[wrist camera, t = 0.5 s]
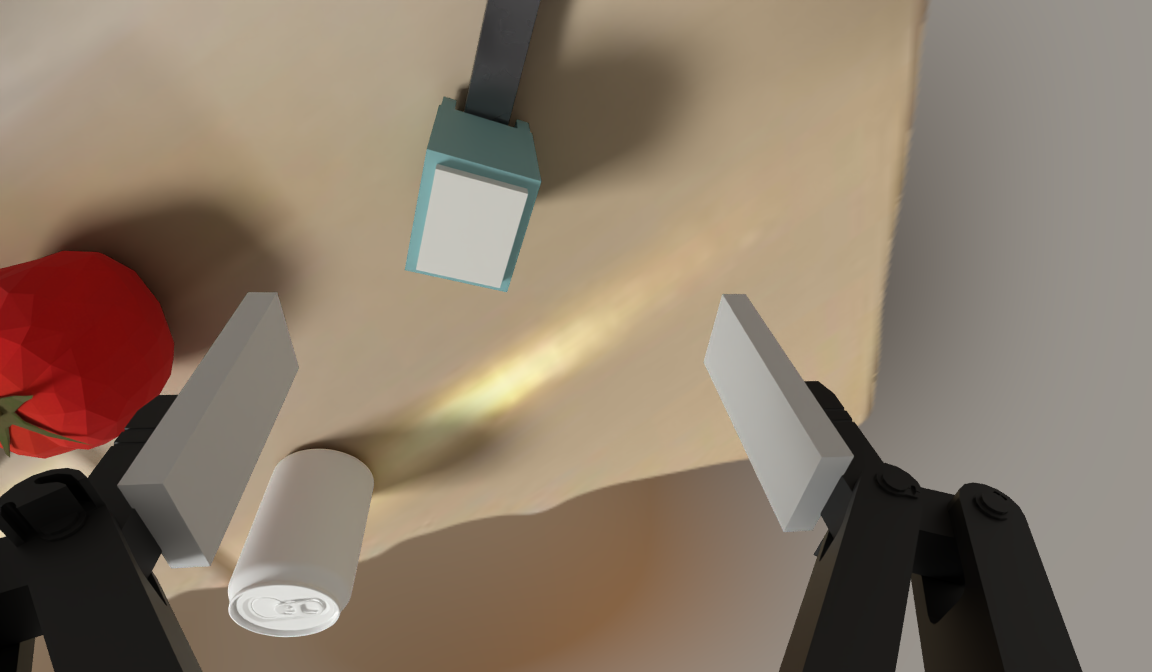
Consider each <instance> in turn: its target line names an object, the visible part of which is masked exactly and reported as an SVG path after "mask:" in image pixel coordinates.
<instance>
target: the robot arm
mask: <svg viewBox="0 0 1152 672" xmlns="http://www.w3.org/2000/svg"><path fill="white" fill-rule="evenodd" d="M704 364H705V366H706V368H707V370H708V372H709V374H710V377H711V379H712V381H713V383H714V385H715V387H716V389H717V391H718V394H719V396H720V398H721V400H722V402H723V404H724V406H725V408H726V411H727V413H728V415H729V417H730V419H731V421H732V423H733V425H734V428H735V430H736V432H737V434H738V436H739V438H740V440H741V442H742V445H743V447H744V449H745V451H746V453H747V455H748V457H749V459H750V462H751V464H752V466H753V468H754V470H755V472H756V474H757V476H758V479H759V481H760V483H761V485H762V487H763V489H764V491H765V493H766V496H767V498H768V500H769V502H770V504H771V506H772V508H773V510H774V512H775V515H776V517H777V519H778V521H779V523H780V525H781V527H782V530H783V532H794V531H810V530H813V529H814V527H815V525H816V523H817V522H818V520H819V518H820V516H822V518H823V520H824V522H825V523H826V525H827V527H828V531H827V533H826V535H825V536H824V538H823V540H822V541H821V543H820V545H819V546H818V548H817V550H816V551H815V553H814V555H815V556H817V559H816V562H815V565H814V568H813V571H812V574H811V577H810V581H809V583H808V586H807V589H806V592H805V595H804V598H803V601H802V604H801V607H800V610H799V613H798V616H797V619H796V622H795V625H794V628H793V631H792V634H791V637H790V640H789V643H788V646H787V649H786V652H785V655H784V658H783V661H782V664H781V667H780V670H779V672H895V669H896V663H897V658H898V652H899V646H900V640H901V634H902V628H903V622H904V615H905V610H906V604H907V598H908V592H909V586H910V580H911V582H912V588H913V595H914V601H915V608H916V615H917V622H918V628H919V635H920V642H921V649H922V655H923V662H924V668H925V672H1082V670H1081V667H1080V664H1079V661H1078V659H1077V656H1076V653H1075V651H1074V648H1073V645H1072V642H1071V640H1070V637H1069V634H1068V632H1067V629H1066V626H1065V623H1064V621H1063V618H1062V615H1061V613H1060V610H1059V607H1058V604H1057V602H1056V599H1055V596H1054V594H1053V591H1052V588H1051V585H1050V583H1049V580H1048V577H1047V575H1046V572H1045V569H1044V566H1043V564H1042V561H1041V558H1040V556H1039V553H1038V550H1037V547H1036V545H1035V542H1034V539H1033V537H1032V534H1031V531H1030V528H1029V526H1028V523H1027V520H1026V518H1025V515H1024V514H1023V512H1022V510H1021V509H1020V507H1019V506H1018V505H1017V504H1016V503H1015V502H1014V501H1013V500H1012V499H1010V497H1008V496H1007V495H1005V494H1004V493H1002V492H1000V491H999V490H997V489H995V488H992V487H990V486H987V485H985V484H979V483H968V484H964V485H963V486H962V487H961V488H960V489H959V490H958V492H957V493H956V494H955V495H952V494H948V493H944V492H939V491H935V490H930V489H926V488H922V487H920V485H919V483H918V482H917V481H916V480H915V479H914V478H913V477H912V476H911V475H910V474H908V473H907V472H905V471H903V470H902V469H900V468H898V467H896V466H893V465H890V464H887V463H883V461H882V460H881V458H880V457H879V456H878V454H877V453H876V452H875V450H874V449H873V447H872V446H871V445H870V443H869V442H868V440H867V439H866V438H865V436H864V435H863V433H862V432H861V431H860V429H859V428H858V426H857V425H856V424H855V422H852V418H851V417H850V415H849V414H848V412H847V411H844V407H843V405H842V404H841V403H840V401H839V400H838V398H837V397H836V396H835V394H834V393H833V392H831V391H830V390H829V389H827V388H826V387H825V386H824V385H822V384H821V383H820V382H819V381H803V379H802V378H801V376H800V375H799V373H798V372H797V370H796V369H795V367H794V366H793V364H792V363H791V361H790V360H789V358H788V357H787V355H786V354H785V352H784V351H783V349H782V348H781V346H780V345H779V343H778V342H777V340H776V339H775V337H774V336H773V334H772V333H771V331H770V330H769V328H768V327H767V325H766V324H765V322H764V321H763V319H762V318H761V316H760V315H759V313H758V312H757V310H756V309H755V307H754V306H753V304H752V303H751V301H750V300H749V299H748V297H747V296H746V294H722V298H721V301H720V305H719V308H718V312H717V316H716V319H715V323H714V326H713V330H712V334H711V337H710V341H709V345H708V348H707V352H706V355H705V359H704ZM298 369H299V366H298V362H297V359H296V355H295V352H294V348H293V345H292V341H291V338H290V334H289V331H288V328H287V324H286V321H285V317H284V314H283V310H282V307H281V303H280V300H279V297H278V293H277V292H248V293H247V294H246V296H245V297H244V299H243V300H242V302H241V303H240V305H239V306H238V308H237V309H236V311H235V312H234V314H233V315H232V317H231V318H230V320H229V321H228V322H227V324H226V325H225V327H224V328H223V330H222V331H221V333H220V334H219V336H218V337H217V339H216V340H215V342H214V343H213V345H212V346H211V348H210V349H209V351H208V352H207V353H206V355H205V356H204V358H203V359H202V361H201V362H200V364H199V365H198V367H197V368H196V370H195V371H194V373H193V374H192V376H191V377H190V379H189V380H188V382H187V383H186V384H185V386H184V387H183V389H182V390H181V392H180V393H179V395H158V396H157V397H155V398H154V399H153V400H151V401H150V402H148V403H147V404H146V405H144V406H143V407H142V408H140V409H139V410H138V411H137V412H136V413H135V415H134V416H133V417H132V419H131V420H130V421H129V423H128V424H127V425H126V427H125V428H124V429H125V431H124V432H121V434H120V435H119V436H118V438H117V439H116V440H115V442H114V446H111V447H110V448H109V450H108V451H107V452H106V454H105V455H104V457H103V458H102V459H101V461H100V462H99V463H98V465H97V466H96V467H95V469H94V470H93V471H92V473H91V474H90V475H89V477H88V478H87V477H86V476H85V475H84V474H83V473H82V472H81V471H80V470H75V469H70V468H62V469H53V470H49V471H45V472H42V473H39V474H36V475H33V476H31V477H29V478H27V479H25V480H24V481H22V482H20V483H18V484H16V485H14V486H13V487H12V488H11V489H10V490H8V491H7V492H6V493H5V494H3V495H2V496H1V497H0V530H1V531H2V532H3V533H4V534H5V535H6V537H3V538H0V672H31V671H32V662H33V653H34V643H35V637H38V636H41V635H44V639H45V642H46V645H47V649H48V652H49V655H50V659H51V662H52V665H53V668H54V671H55V672H202V670H201V668H200V666H199V664H198V662H197V659H196V657H195V656H194V653H193V651H192V649H191V647H190V645H189V643H188V641H187V639H186V637H185V635H184V633H183V631H182V629H181V627H180V625H179V623H178V621H177V618H176V617H175V614H174V612H173V610H172V608H171V606H170V604H169V602H168V600H167V598H166V596H165V594H164V592H163V590H162V588H161V586H160V584H159V582H158V579H157V578H156V576H155V575H154V573H153V572H152V570H153V568H154V566H155V564H156V562H157V560H158V558H159V557H160V555H161V553H162V555H163V556H164V558H165V559H166V561H167V562H168V564H169V566H170V567H171V568H186V567H203V566H211V563H212V561H213V559H214V557H215V554H216V552H217V550H218V548H219V545H220V543H221V541H222V539H223V537H224V534H225V532H226V530H227V528H228V525H229V523H230V521H231V519H232V516H233V514H234V512H235V510H236V507H237V505H238V503H239V501H240V499H241V496H242V494H243V492H244V490H245V487H246V485H247V483H248V481H249V478H250V476H251V474H252V472H253V469H254V467H255V465H256V463H257V461H258V458H259V456H260V454H261V452H262V449H263V447H264V445H265V443H266V440H267V438H268V436H269V434H270V431H271V429H272V427H273V425H274V423H275V420H276V418H277V416H278V414H279V411H280V409H281V407H282V405H283V402H284V400H285V398H286V396H287V393H288V391H289V389H290V387H291V385H292V382H293V380H294V378H295V376H296V373H297V371H298Z"/></svg>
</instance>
